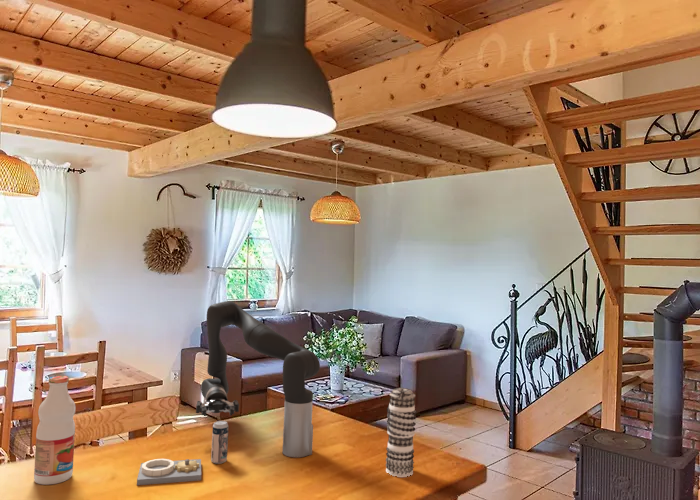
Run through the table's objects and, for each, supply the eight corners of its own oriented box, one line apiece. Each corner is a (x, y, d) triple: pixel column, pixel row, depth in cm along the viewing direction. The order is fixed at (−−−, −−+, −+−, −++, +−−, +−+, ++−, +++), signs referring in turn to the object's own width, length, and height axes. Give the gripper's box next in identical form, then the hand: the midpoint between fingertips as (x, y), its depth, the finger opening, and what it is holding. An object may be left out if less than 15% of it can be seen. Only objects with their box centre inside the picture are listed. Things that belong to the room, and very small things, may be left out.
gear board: (200, 464, 159) (201, 451, 159) (201, 480, 147) (201, 467, 148) (141, 468, 154) (141, 455, 154) (136, 485, 143) (137, 471, 143)
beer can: (222, 465, 159) (224, 425, 159) (208, 463, 160) (210, 424, 160) (229, 459, 163) (231, 421, 164) (215, 457, 164) (217, 419, 165)
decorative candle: (394, 479, 153) (398, 394, 154) (378, 468, 161) (382, 387, 162) (420, 475, 157) (423, 392, 158) (403, 464, 166) (406, 385, 166)
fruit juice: (40, 472, 148) (46, 373, 149) (76, 470, 150) (81, 373, 151) (28, 486, 139) (34, 381, 140) (66, 484, 141) (72, 381, 142)
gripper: (196, 389, 187) (196, 402, 171) (237, 388, 191) (240, 401, 175) (195, 410, 187) (195, 425, 171) (235, 409, 191) (239, 423, 175)
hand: (218, 412), depth 173 cm, fingers open, 8 cm apart
